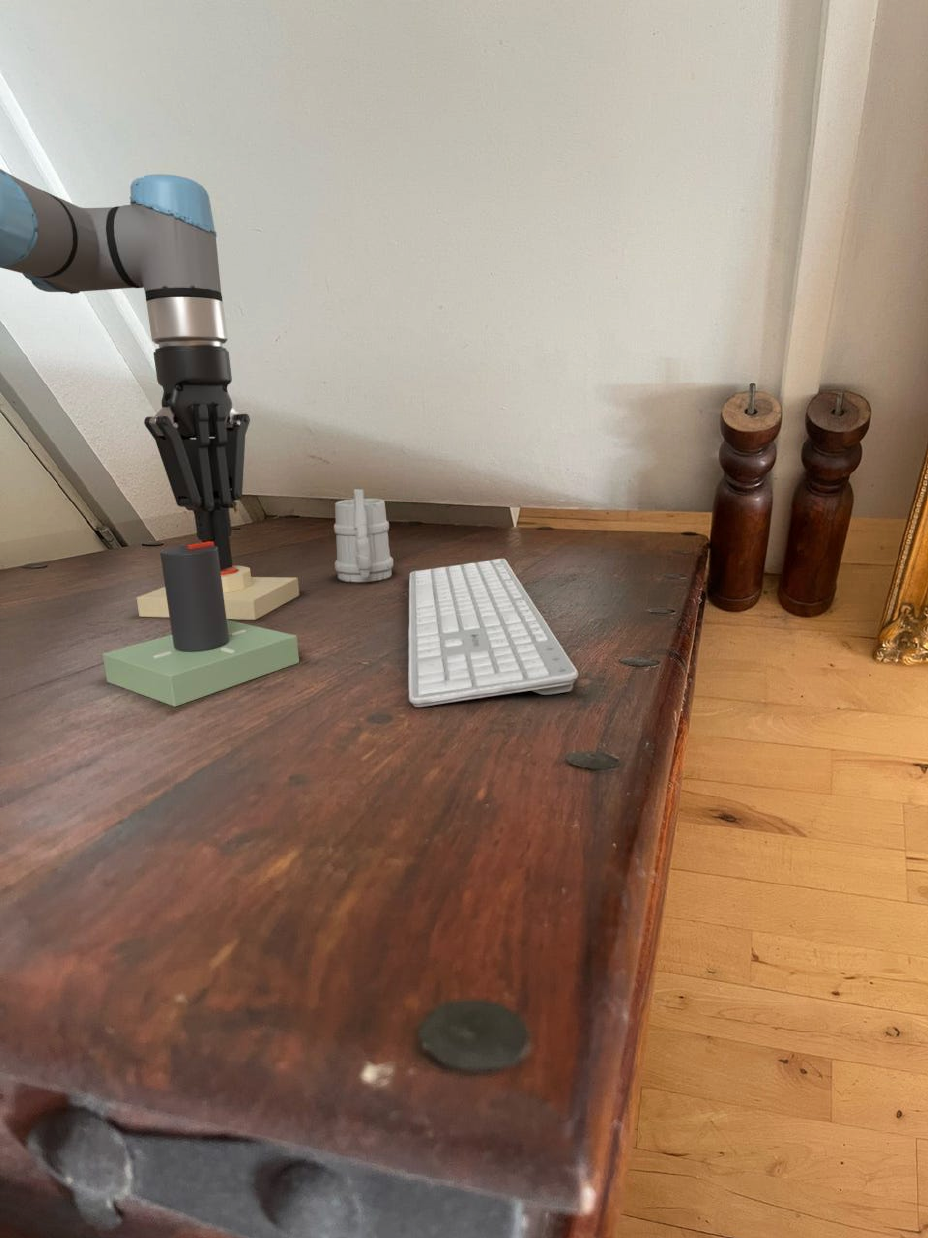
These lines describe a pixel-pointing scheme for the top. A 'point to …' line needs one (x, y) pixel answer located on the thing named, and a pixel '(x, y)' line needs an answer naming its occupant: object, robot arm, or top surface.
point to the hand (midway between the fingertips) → (219, 567)
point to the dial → (195, 596)
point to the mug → (362, 539)
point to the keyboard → (479, 637)
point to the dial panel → (199, 664)
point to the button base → (234, 596)
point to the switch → (228, 570)
